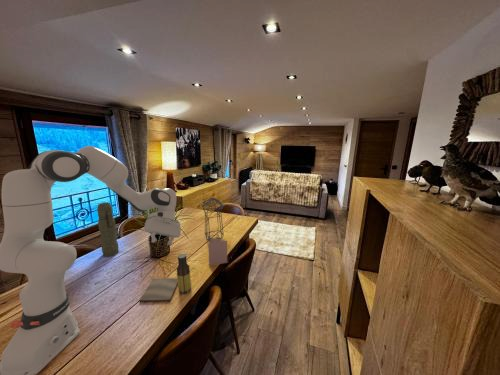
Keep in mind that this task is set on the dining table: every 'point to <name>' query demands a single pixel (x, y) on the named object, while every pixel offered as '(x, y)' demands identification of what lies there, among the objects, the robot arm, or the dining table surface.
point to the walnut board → (160, 290)
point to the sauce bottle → (183, 275)
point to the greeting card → (217, 251)
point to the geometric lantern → (212, 217)
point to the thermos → (107, 230)
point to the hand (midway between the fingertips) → (161, 243)
